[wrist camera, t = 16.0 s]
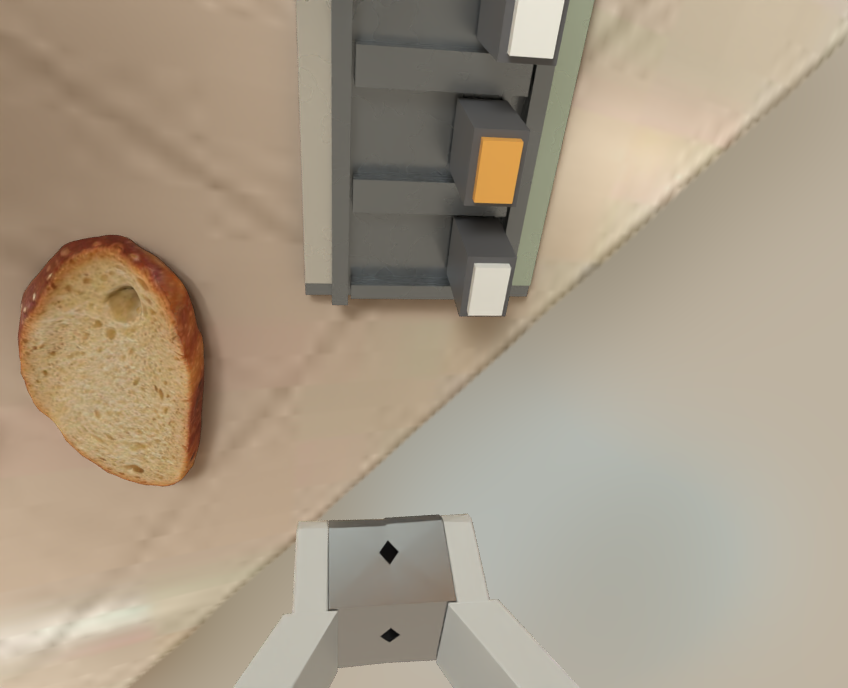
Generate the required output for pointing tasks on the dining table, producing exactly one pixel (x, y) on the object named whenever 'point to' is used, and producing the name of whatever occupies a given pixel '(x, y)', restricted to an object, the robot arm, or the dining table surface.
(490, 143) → the breaker mid
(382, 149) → the panel
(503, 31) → the breaker
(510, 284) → the breaker
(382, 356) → the dining table surface
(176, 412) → the slice of bread
